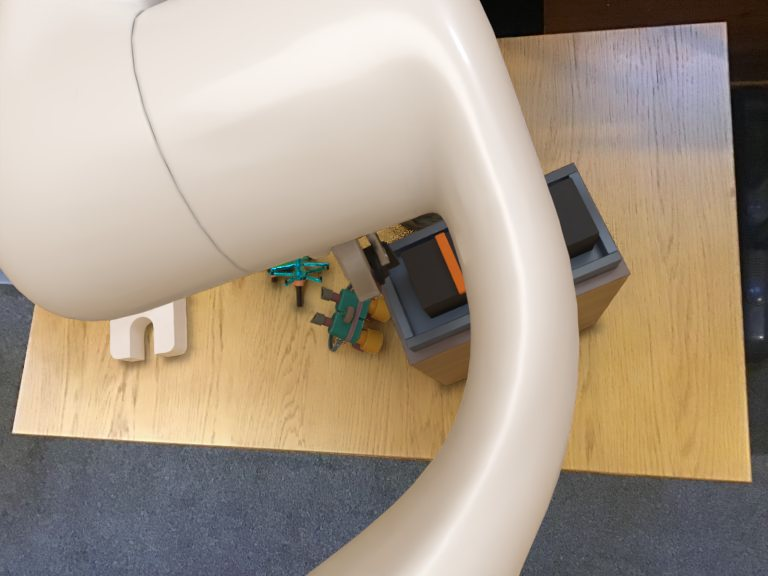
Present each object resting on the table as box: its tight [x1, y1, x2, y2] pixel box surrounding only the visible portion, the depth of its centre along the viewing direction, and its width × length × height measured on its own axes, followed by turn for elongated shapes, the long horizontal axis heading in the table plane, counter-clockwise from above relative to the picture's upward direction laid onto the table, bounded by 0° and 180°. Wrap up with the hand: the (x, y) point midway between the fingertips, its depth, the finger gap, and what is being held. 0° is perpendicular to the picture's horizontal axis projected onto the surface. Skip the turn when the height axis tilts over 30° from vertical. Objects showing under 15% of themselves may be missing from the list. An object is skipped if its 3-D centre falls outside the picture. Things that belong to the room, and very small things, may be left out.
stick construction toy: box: [266, 256, 330, 308], centre depth 89 cm, size 12×7×8 cm
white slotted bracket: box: [109, 297, 188, 363], centre depth 89 cm, size 10×18×10 cm, turn 6°
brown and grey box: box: [381, 162, 631, 387], centre depth 69 cm, size 11×20×31 cm, turn 111°
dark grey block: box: [548, 178, 599, 259], centre depth 53 cm, size 5×7×5 cm
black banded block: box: [400, 232, 468, 319], centre depth 54 cm, size 5×7×5 cm
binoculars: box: [309, 283, 391, 355], centre depth 83 cm, size 9×9×10 cm
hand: (352, 207), depth 45 cm, fingers open, 9 cm apart
